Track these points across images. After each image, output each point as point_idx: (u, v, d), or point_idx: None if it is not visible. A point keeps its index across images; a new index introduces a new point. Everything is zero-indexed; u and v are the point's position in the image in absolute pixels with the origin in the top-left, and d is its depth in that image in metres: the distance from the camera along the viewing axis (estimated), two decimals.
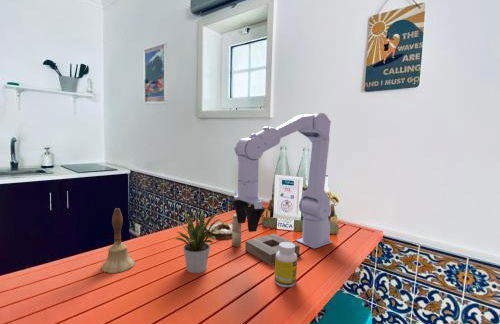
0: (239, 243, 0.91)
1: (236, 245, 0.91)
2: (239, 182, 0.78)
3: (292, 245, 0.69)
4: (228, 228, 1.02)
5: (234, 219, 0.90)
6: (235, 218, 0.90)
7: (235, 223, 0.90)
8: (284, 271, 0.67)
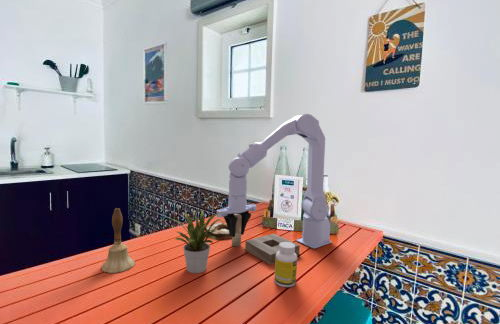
0: (239, 243, 0.91)
1: (236, 245, 0.91)
2: None
3: (292, 245, 0.69)
4: None
5: None
6: None
7: None
8: (284, 271, 0.67)
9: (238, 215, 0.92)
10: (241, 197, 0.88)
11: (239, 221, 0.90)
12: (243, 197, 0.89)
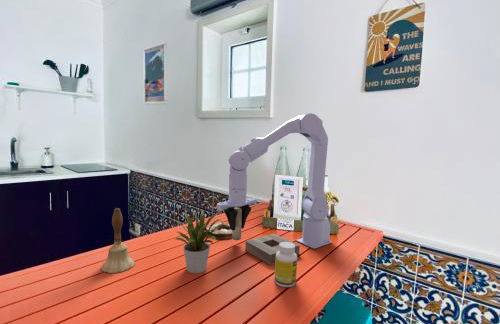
0: (239, 237, 0.91)
1: (236, 239, 0.91)
2: None
3: (292, 245, 0.69)
4: (228, 228, 1.02)
5: None
6: None
7: None
8: (284, 271, 0.67)
9: (238, 209, 0.91)
10: (241, 190, 0.88)
11: (239, 214, 0.90)
12: (243, 190, 0.89)
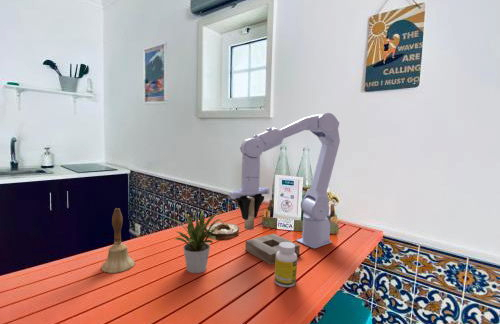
0: (252, 226, 0.89)
1: (249, 228, 0.89)
2: None
3: (292, 245, 0.69)
4: (228, 228, 1.02)
5: None
6: None
7: None
8: (284, 271, 0.67)
9: (251, 198, 0.89)
10: (254, 178, 0.86)
11: (252, 203, 0.88)
12: (256, 178, 0.86)
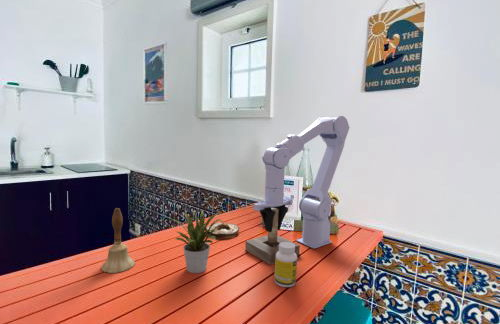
0: (276, 239, 0.86)
1: (273, 241, 0.86)
2: None
3: (292, 245, 0.69)
4: (228, 228, 1.02)
5: None
6: None
7: None
8: (284, 271, 0.67)
9: (275, 209, 0.86)
10: (279, 189, 0.83)
11: (276, 215, 0.85)
12: (281, 190, 0.83)
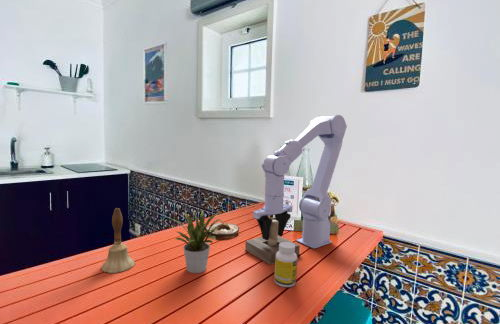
0: None
1: None
2: None
3: (292, 245, 0.69)
4: (228, 228, 1.02)
5: (271, 225, 0.85)
6: (272, 224, 0.85)
7: (272, 229, 0.85)
8: (284, 271, 0.67)
9: (275, 221, 0.87)
10: (279, 197, 0.83)
11: (276, 227, 0.86)
12: (281, 197, 0.84)
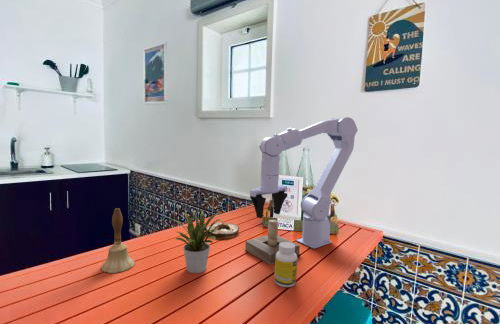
0: None
1: None
2: None
3: (292, 245, 0.69)
4: (228, 228, 1.02)
5: (270, 225, 0.85)
6: (272, 224, 0.85)
7: (272, 229, 0.85)
8: (284, 271, 0.67)
9: (274, 221, 0.87)
10: (274, 176, 0.87)
11: (276, 227, 0.85)
12: (276, 176, 0.88)
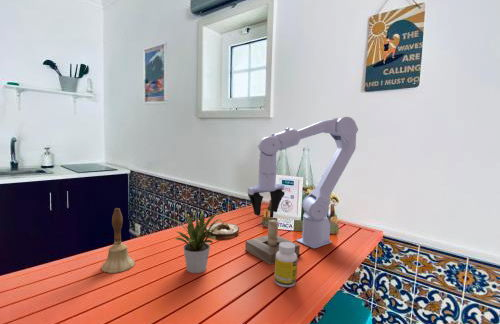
0: None
1: None
2: None
3: (292, 245, 0.69)
4: (228, 228, 1.02)
5: (270, 225, 0.85)
6: (272, 224, 0.85)
7: (272, 230, 0.85)
8: (284, 271, 0.67)
9: (274, 221, 0.87)
10: (271, 175, 0.90)
11: (276, 227, 0.85)
12: (273, 175, 0.90)
